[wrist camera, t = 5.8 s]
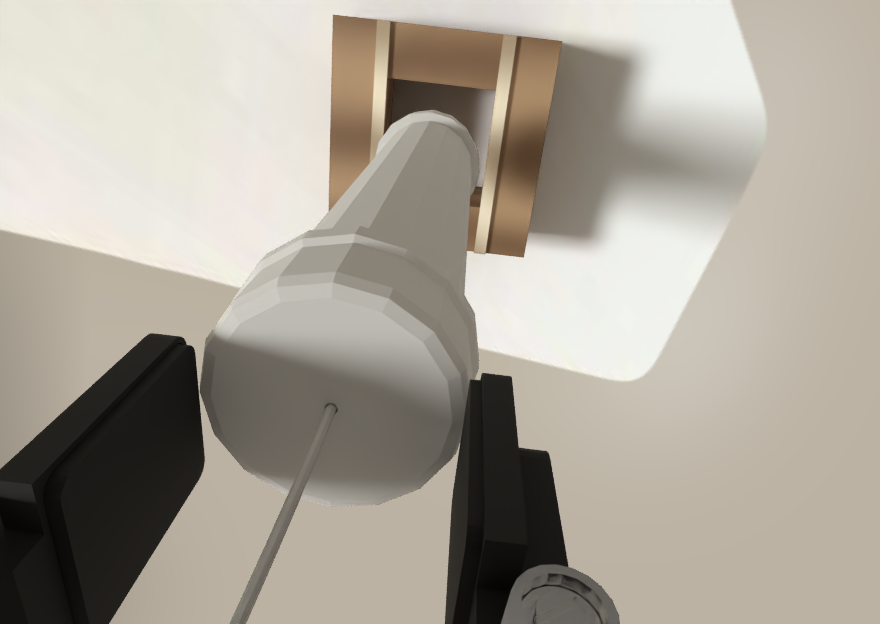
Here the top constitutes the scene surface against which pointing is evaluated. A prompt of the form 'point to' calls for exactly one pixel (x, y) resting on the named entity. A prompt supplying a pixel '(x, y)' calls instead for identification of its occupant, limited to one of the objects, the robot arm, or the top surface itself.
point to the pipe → (355, 338)
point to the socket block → (452, 63)
